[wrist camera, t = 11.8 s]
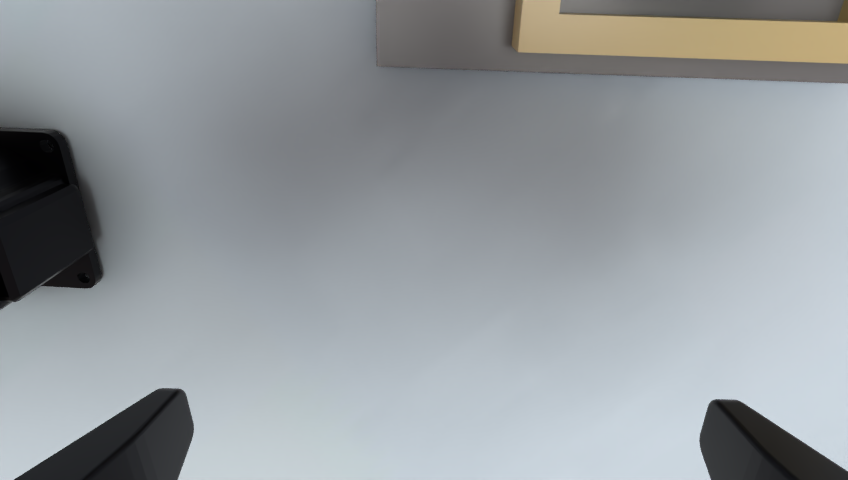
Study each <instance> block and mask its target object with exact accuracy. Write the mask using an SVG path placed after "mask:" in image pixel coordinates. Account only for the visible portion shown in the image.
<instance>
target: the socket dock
mask: <svg viewBox="0 0 848 480" xmlns="http://www.w3.org/2000/svg"><path fill="white" fill-rule="evenodd" d="M376 49H377V66H379V67H407V68H435V69H463V70H491V71H519V72H546V73H574V74H602V75H630V76H658V77H685V78H713V79H741V80H769V81H797V82H825V83H848V0H376Z"/></svg>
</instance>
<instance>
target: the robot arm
mask: <svg viewBox="0 0 848 480" xmlns="http://www.w3.org/2000/svg"><path fill="white" fill-rule="evenodd" d="M47 140H49V141H50V142H51V143H52V145H53V149H52V148H50V147H49V145H48V143H47ZM84 273H86V274H87V275H88V276H89V278H88V277H86V276H85V274H84ZM101 278H102V276H101V270H100V267H99V263H98V259H97V255H96V251H95V248H94V244H93V240H92V236H91V232H90V228H89V225H88V221H87V217H86V213H85V209H84V206H83V202H82V198H81V194H80V191H79V187H78V183H77V180H76V176H75V172H74V168H73V164H72V161H71V157H70V153H69V149H68V145H67V143H66V140H65V138H64V137H63V136H62V135H61V134H59V133H58V132H56V131H53V130H40V129H17V128H0V310H1V309H3V308H4V307H6V306H7V305H8V304H10V303H11V302H17V301H19V300H21V299H22V298H24V297H25V296H27V295H28V294H30V293H31V292H32V291H34V290H35V289H37V288H38V287H40V286H54V287H71V288H91V287H93V286H94V285H96V284H97V283H98V282H99V281H100V280H101ZM193 432H194V425H193V420H192V416H191V412H190V408H189V404H188V400H187V396H186V394H185V392H184V391H183V390H181V389H173V388H162V389H157V390H155V391H154V392H152V393H150V394H149V395H147V396H146V397H144V398H143V399H141V400H139V401H138V402H136V403H135V404H133V405H131V406H130V407H128V408H127V409H125V410H124V411H122V412H120V413H119V414H117V415H116V416H114V417H112V418H111V419H109V420H108V421H106V422H105V423H103V424H101V425H100V426H98V427H97V428H95V429H93V430H92V431H90V432H89V433H87V434H86V435H84V436H82V437H81V438H79V439H78V440H76V441H74V442H73V443H71V444H70V445H68V446H67V447H65V448H63V449H62V450H60V451H59V452H57V453H55V454H54V455H52V456H51V457H49V458H48V459H46V460H44V461H43V462H41V463H40V464H38V465H36V466H35V467H33V468H32V469H30V470H29V471H27V472H25V473H24V474H22V475H21V476H19V477H17V478H16V479H14V480H178V477H179V474H180V471H181V469H182V466H183V463H184V460H185V457H186V455H187V452H188V449H189V446H190V443H191V441H192V437H193ZM700 448H701V452H702V455H703V458H704V461H705V464H706V466H707V469H708V472H709V475H710V478H711V480H848V471H846V470H845V469H843V468H842V467H840V466H839V465H837V464H836V463H834V462H833V461H831V460H829V459H828V458H826V457H825V456H823V455H822V454H820V453H819V452H817V451H816V450H814V449H813V448H811V447H810V446H808V445H807V444H805V443H803V442H802V441H800V440H799V439H797V438H796V437H794V436H793V435H791V434H790V433H788V432H787V431H785V430H784V429H782V428H780V427H779V426H777V425H776V424H774V423H773V422H771V421H770V420H768V419H767V418H765V417H764V416H762V415H761V414H759V413H758V412H756V411H754V410H753V409H751V408H750V407H748V406H747V405H745V404H744V403H742V402H740V401H738V400H726V399H715V400H712V401H711V402H710V403H709V406H708V408H707V412H706V415H705V419H704V423H703V426H702V430H701V433H700Z"/></svg>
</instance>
